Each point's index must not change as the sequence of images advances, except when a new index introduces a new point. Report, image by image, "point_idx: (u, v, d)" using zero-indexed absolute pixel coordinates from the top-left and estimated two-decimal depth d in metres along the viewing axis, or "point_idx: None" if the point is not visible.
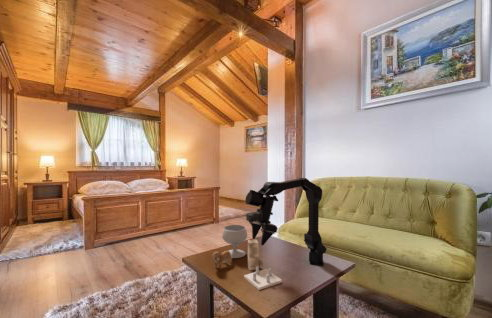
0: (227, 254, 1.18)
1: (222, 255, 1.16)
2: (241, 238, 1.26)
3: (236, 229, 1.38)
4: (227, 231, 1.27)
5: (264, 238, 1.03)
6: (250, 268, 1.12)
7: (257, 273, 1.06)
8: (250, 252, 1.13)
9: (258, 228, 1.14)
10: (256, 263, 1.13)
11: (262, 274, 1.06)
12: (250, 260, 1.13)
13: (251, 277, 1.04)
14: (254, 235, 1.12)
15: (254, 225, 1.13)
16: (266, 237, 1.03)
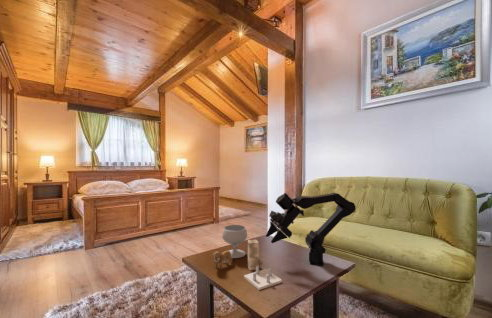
0: (227, 253, 1.18)
1: (222, 255, 1.16)
2: (241, 238, 1.26)
3: (236, 229, 1.38)
4: (227, 231, 1.27)
5: (276, 237, 1.11)
6: (250, 268, 1.12)
7: (257, 273, 1.06)
8: (250, 252, 1.13)
9: (274, 230, 1.22)
10: (256, 263, 1.13)
11: (262, 274, 1.06)
12: (250, 260, 1.13)
13: (251, 277, 1.04)
14: (269, 233, 1.21)
15: (272, 226, 1.22)
16: (278, 237, 1.11)
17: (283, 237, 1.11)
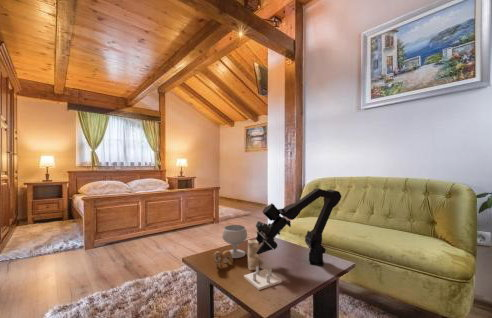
0: (228, 253, 1.19)
1: (223, 255, 1.16)
2: (241, 238, 1.26)
3: (236, 229, 1.38)
4: (227, 231, 1.27)
5: (261, 249, 1.10)
6: (250, 268, 1.12)
7: (257, 273, 1.06)
8: (250, 252, 1.13)
9: (261, 241, 1.21)
10: (256, 263, 1.13)
11: (262, 274, 1.06)
12: (250, 260, 1.13)
13: (251, 277, 1.04)
14: None
15: (259, 236, 1.21)
16: (264, 249, 1.10)
17: (269, 249, 1.10)
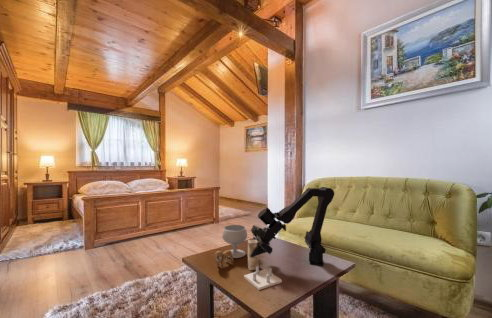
0: (229, 253, 1.19)
1: (224, 254, 1.17)
2: (241, 238, 1.26)
3: (236, 229, 1.38)
4: (227, 231, 1.27)
5: (256, 251, 1.12)
6: (250, 268, 1.12)
7: (257, 273, 1.06)
8: (250, 252, 1.13)
9: None
10: (256, 263, 1.13)
11: (262, 274, 1.06)
12: (250, 260, 1.13)
13: (251, 277, 1.04)
14: None
15: None
16: (258, 252, 1.12)
17: (262, 251, 1.12)
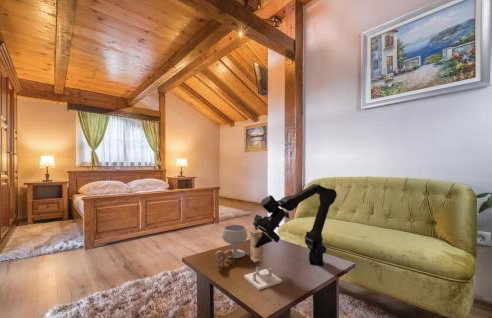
0: (229, 252, 1.20)
1: (225, 254, 1.17)
2: (241, 238, 1.26)
3: (236, 229, 1.38)
4: (227, 231, 1.27)
5: (261, 241, 1.06)
6: (255, 259, 1.06)
7: (257, 273, 1.06)
8: (255, 242, 1.06)
9: None
10: (261, 254, 1.07)
11: (262, 274, 1.06)
12: (255, 251, 1.06)
13: (251, 277, 1.04)
14: None
15: None
16: (263, 242, 1.06)
17: (268, 241, 1.06)
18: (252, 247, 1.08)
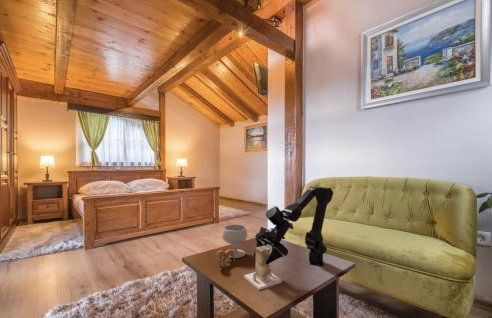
0: (230, 252, 1.20)
1: (226, 253, 1.18)
2: (241, 238, 1.26)
3: (236, 229, 1.38)
4: (227, 231, 1.27)
5: (271, 257, 0.99)
6: (262, 278, 1.01)
7: None
8: (262, 261, 1.01)
9: None
10: (268, 272, 1.02)
11: None
12: (262, 269, 1.01)
13: (251, 277, 1.04)
14: None
15: (260, 243, 1.09)
16: (273, 257, 0.99)
17: (278, 256, 1.00)
18: (258, 265, 1.02)
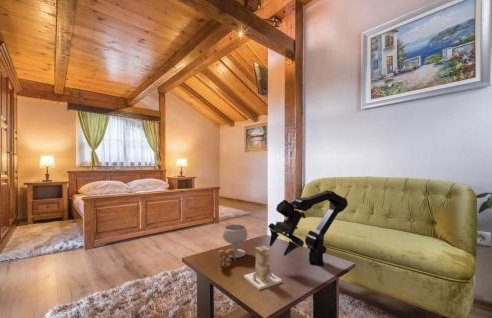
0: (231, 252, 1.21)
1: (226, 253, 1.18)
2: (242, 238, 1.27)
3: (236, 229, 1.39)
4: (227, 231, 1.27)
5: (289, 250, 1.08)
6: (262, 278, 1.01)
7: None
8: (262, 261, 1.01)
9: (276, 237, 1.17)
10: (268, 272, 1.02)
11: None
12: (262, 269, 1.01)
13: (251, 277, 1.04)
14: (272, 242, 1.15)
15: (274, 233, 1.16)
16: (290, 249, 1.08)
17: (295, 247, 1.09)
18: (258, 265, 1.02)
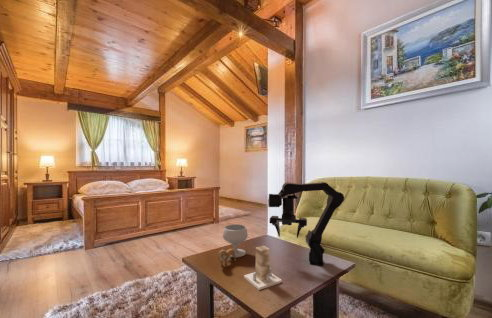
0: (232, 251, 1.21)
1: (227, 253, 1.19)
2: (242, 237, 1.27)
3: (236, 229, 1.39)
4: (228, 230, 1.28)
5: None
6: (262, 278, 1.01)
7: None
8: (262, 261, 1.01)
9: None
10: (268, 272, 1.02)
11: None
12: (262, 269, 1.01)
13: (251, 277, 1.04)
14: (279, 232, 1.22)
15: (278, 225, 1.22)
16: (299, 230, 1.20)
17: None
18: (258, 265, 1.02)
